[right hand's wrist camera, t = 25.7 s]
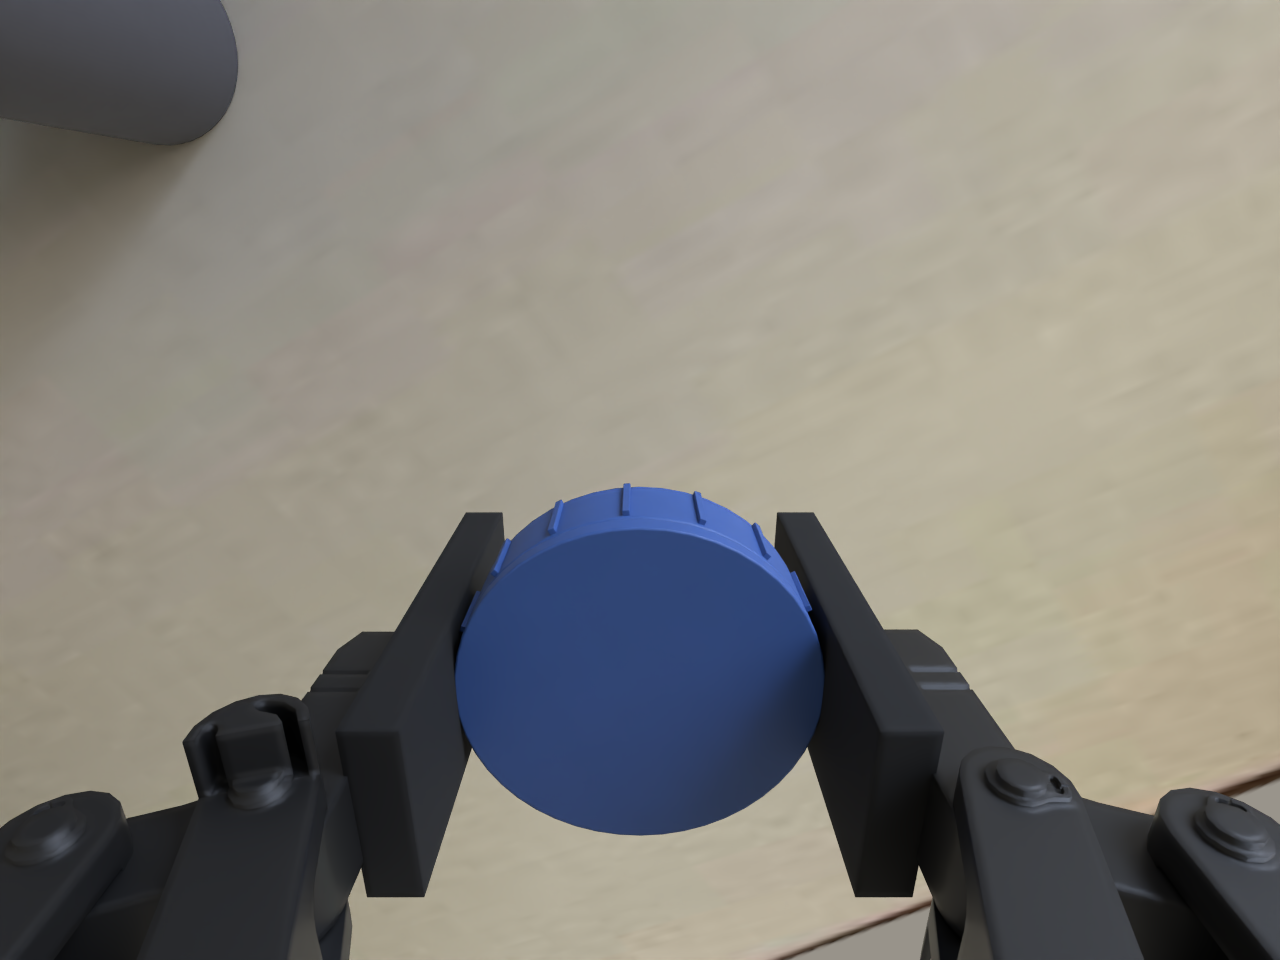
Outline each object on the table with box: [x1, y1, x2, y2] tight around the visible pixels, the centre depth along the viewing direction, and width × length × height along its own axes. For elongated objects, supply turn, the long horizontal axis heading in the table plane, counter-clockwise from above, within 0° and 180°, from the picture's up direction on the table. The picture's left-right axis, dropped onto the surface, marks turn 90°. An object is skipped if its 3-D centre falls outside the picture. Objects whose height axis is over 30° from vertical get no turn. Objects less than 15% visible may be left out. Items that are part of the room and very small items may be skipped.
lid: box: [454, 483, 825, 835], centre depth 11 cm, size 6×6×2 cm
